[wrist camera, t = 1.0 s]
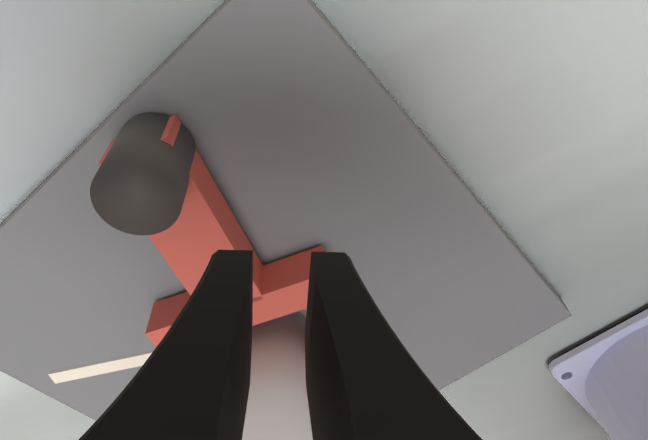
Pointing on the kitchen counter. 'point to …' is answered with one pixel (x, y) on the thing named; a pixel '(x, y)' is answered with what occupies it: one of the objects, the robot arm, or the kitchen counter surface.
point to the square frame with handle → (184, 217)
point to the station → (268, 223)
